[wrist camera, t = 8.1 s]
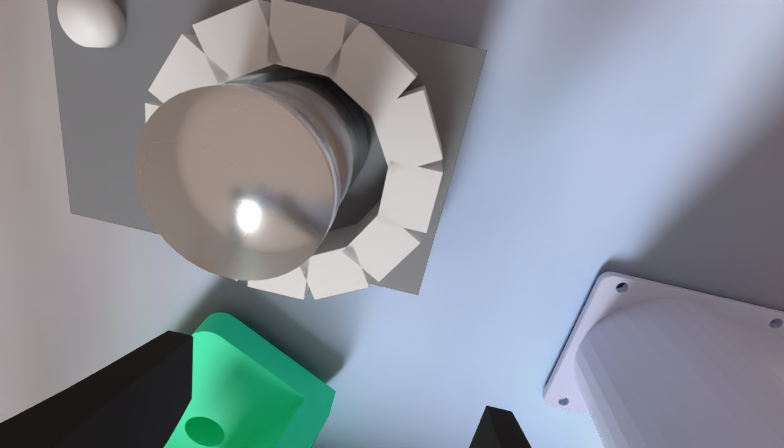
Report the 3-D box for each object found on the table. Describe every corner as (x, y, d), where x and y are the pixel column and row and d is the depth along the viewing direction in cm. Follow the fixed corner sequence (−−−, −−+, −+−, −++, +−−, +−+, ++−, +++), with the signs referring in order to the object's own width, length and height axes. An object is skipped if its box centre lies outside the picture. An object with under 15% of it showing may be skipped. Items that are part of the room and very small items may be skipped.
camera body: (476, 51, 16) (496, 49, 11) (420, 254, 19) (415, 326, 14) (121, -32, 16) (-26, -72, 11) (131, 186, 19) (23, 233, 14)
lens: (387, 96, 13) (354, 125, 8) (354, 211, 15) (309, 303, 9) (263, 55, 13) (139, 56, 8) (243, 176, 15) (130, 248, 9)
